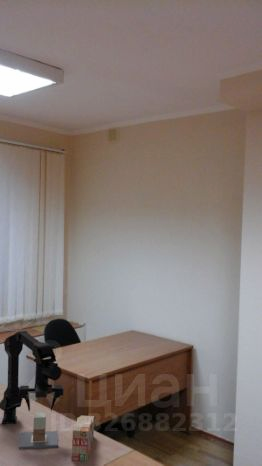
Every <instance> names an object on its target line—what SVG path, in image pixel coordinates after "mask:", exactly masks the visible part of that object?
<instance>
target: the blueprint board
mask: <svg viewBox="0 0 262 466" xmlns="http://www.w3.org/2000/svg"><path fill="white" fill-rule="evenodd" d="M19 435H20V437H19V441H18V442H19V443H18V444H19V445H18V450H30V449H32V450H33V449H48V448H49V449H50V448H59V435H58V430H54V431H53V430H51V431H50V430H49V431H48V430H45V441H33V431H27V432H26V431H24V432H21V431H20V434H19Z"/></svg>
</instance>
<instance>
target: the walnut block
mask: <svg viewBox="0 0 262 466" xmlns="http://www.w3.org/2000/svg"><path fill="white" fill-rule="evenodd" d="M33 428H34V426H33ZM33 428H32V429H33ZM45 431H46V428H45V429H34V430H32V432H33V441H45Z"/></svg>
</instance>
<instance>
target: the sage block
mask: <svg viewBox="0 0 262 466" xmlns="http://www.w3.org/2000/svg"><path fill="white" fill-rule="evenodd" d="M46 421H47V412H34V414H33V427H34V428H32V429H33V430H34V429H45V430H46V427H47V425H46V424H47V423H46ZM33 430H32V431H33Z"/></svg>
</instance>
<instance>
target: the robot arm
mask: <svg viewBox="0 0 262 466" xmlns="http://www.w3.org/2000/svg"><path fill="white" fill-rule="evenodd" d="M3 346H4V352H5V353H6V355H7V387H6V389H5V391H4V392H3V398H2V399H1V400H0V410H2V411H3V417H2V421H1V424H16V423H17V420H18V416H17V408H21V405H22V402H23V399H24V400H25V403H26V407H27V409H28V412H30V411H31V397H30V394H35V395H34V396H35V398H37V399H38V398H47V397H48V395H50V394H52V397H51V404H50V411H53V407H54V406H55V403H56V401H57V399H58V398H61V396H64V391H65V390H64V386H63V385H62V384H54V385H53V384H49V380H52V381H58V380H59V379H60V378H61V376H62V373H63V372H62V368H61V367H59V364H58V363H57V359H56V358H57V356H56V355H55V352H54V349H53V347H52V345H51V344H49V343H48V342H42V341H39V340H38V339H37V338H35V337H34V336H32V335H31V334H30V333H29V332H28V331H27V330H22V331H17V332H15V333H14V334H12V335H9V336H8V337H6V338H5V339H4V342H3ZM23 346H26V347H27V348H28V349H30V350H31V353H32V356H33V358H35V359H33V363H35V376H34V377H35V378H34V387H31V388H30V386H29V385H20V386H19V375H20V374H19V367H20V364H19V363H20V357H19V356H20V354H21V353H22V350H23V349H24V348H23Z"/></svg>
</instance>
